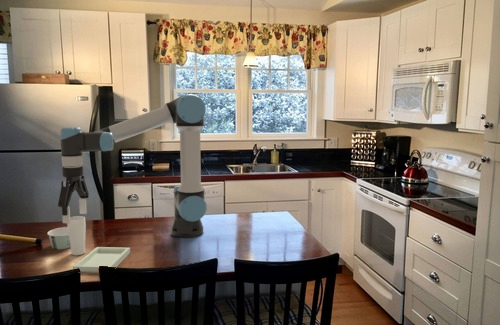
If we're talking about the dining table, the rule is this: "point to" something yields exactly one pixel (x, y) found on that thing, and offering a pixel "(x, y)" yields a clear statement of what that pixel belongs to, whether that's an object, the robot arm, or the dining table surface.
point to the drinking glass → (77, 234)
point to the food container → (59, 238)
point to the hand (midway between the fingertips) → (75, 218)
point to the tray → (102, 258)
